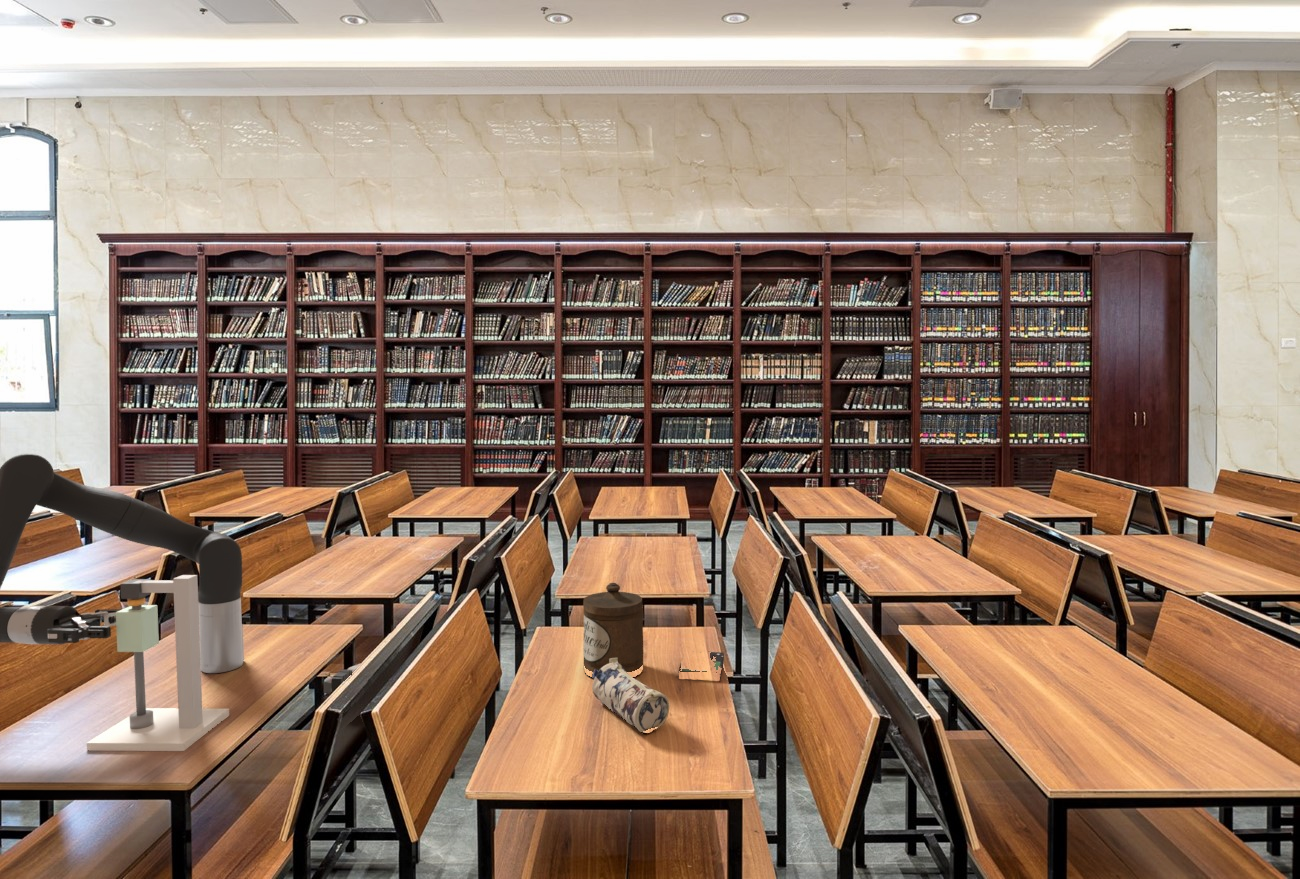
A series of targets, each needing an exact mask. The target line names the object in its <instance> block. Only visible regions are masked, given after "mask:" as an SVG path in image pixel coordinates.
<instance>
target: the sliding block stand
mask: <svg viewBox="0 0 1300 879" xmlns="http://www.w3.org/2000/svg"><path fill="white" fill-rule="evenodd" d="M198 591H199V586H198V574H182V575H178V576H177V577H173V579H172V580H167V579H166V580H165V579H164V580H162V579H160V580H159V579H158V580H157V579H155V580H154V579H150V578H146V579H145V578H133V579H130V580H126V581H124V582H122V583H120V598H121V599H120V600H123V599H124V600H127V607H129V606H132V610H140V609H142V605H146V603H147V602H146V597H147V596H149V595H152V594H163V593H164V594H173V606H174V607H173V611H174V631H175V633H174V637H175V657H176V658H175V660H176V685H177V688H176V689H177V708H172V707H171V708H170V707H169V708H167V707H164V708H163V707H157V708H156V707H155V708H154V707H147V701H146V682H145V658H144V657H145V656H144V652H145V651H144V652H133V663H134V685H135V706H136V708H135V710H136V712H134V713H131V714H129V715H128V716H127V717H126V718H124V719H122V720H121V721H119V722H118V723H116V724H115V725H113V726H111V727H110V728H108V729H106V730H105V731H103V732H102V733H100V734H99V735H97V736H95V737H94V738H91V740H89V741H88V742H86V751H88V750H89V751H90V752H91V751H94V752H95V751H104V752H105V751H108V752H111V751H115V752H116V751H118V752H123V751H125V752H127V751H128V752H130V751H131V752H137V751H138V752H184V751H186V750H187V749H188V748H190V746H192V745H193V744H195V743H196V742H197V741H198V740H199V739H200V740H201V738H202V737H203V736H205V735H206V734H208V733H209V732H210V731H211V730H213V729H214V728H215V727H216V726H218V725H219V724H221V723H222V722H223V721H224V720H226V719H227V718H228V717H230V708H203V701H202V700H203V695H202V694H203V693H202V673H201V672H202V671H201V660H200V630H199V604H198ZM221 721H222V722H221ZM217 724H218V725H217ZM212 728H213V729H212ZM208 731H209V732H208Z"/></svg>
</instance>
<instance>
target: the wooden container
mask: <svg viewBox="0 0 1300 879" xmlns="http://www.w3.org/2000/svg"><path fill="white" fill-rule="evenodd" d="M605 587H606V588H605V589H606V591H602V592H595V593H592V594H590V595H586V596H585V597H584V598H583V603H582V604H583V607H582V609H583V638H582V642H583V643H582V644H583V648H582V649H583V650H582V651H583V652H582V653H583V667H584V666H585V668H586V669H588V670H589V671H592V672H594V670H595V669H597V670H598V671H599V670H600V669H601V668H602V667H603V666H605V665H607V664H609V659H610V658H618V663H619V664H620V665H622V666H623V668H624V669H625V671H626V672H632V671H635V670H637V669H639V668H640V667H641V666H642V665H643V666H644V627H643V626H644V622H643V618H644V617H643V598H642V597H641V596H640V595H638V594H636V593H632V592H625V591H620V590H621V586H620V585H619V584H617V583H616V582H610V583H609V584H607V585H606V586H605Z"/></svg>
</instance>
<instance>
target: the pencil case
mask: <svg viewBox="0 0 1300 879" xmlns="http://www.w3.org/2000/svg"><path fill="white" fill-rule="evenodd" d="M591 679H593V682H592V686H591V688H592V689H591V690H592V693H593V695H594V697H595V698H596V699H597V700H599V701H600V702H601V703H602V705H604V704H605V705H606V706H607V707H608V708H607V707H606V706H605V705H604V706H605V707H606V708H607V709H609V710H610V709H611V710H610V711H611V712H613V711H614V712H615V713H614V712H613V713H614V714H616V713H617V714H616V716H618V715H619V716H620V717H619V716H618V717H619V718H621V717H622V718H623V719H622V718H621V719H622V720H624V719H625V720H626V723H628V724H629V725H630V726H633V727H634V726H635V728H636V729H637V730H638V732H640V733H641V732H643V731H646V730H648V729H651V728H655V727H659V728H660V726H661V727H662V726H663V725H664V723H665V722H666V720H667V719H668V716H669V714H670V701H669V698H668V697H667V695H666V694H664V693H662V692H660V691H658V690H655V689H652V688H651V687H649V686H648V685H646V684H644V683H642V682H641V681H640V680H638V679H636V678H632V677H631V676H630V675H629V674H628V673H627V672H626V671H625V669H624V668H623V666H622V665H620V664H619V663H618V658H610V659H609V664H607V665H605V666H603V667H602V668H601V669H600V670H599V671H598V670H597V669H595V670H594V672H593V674H592V678H591ZM625 720H624V721H625Z"/></svg>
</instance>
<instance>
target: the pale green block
mask: <svg viewBox="0 0 1300 879" xmlns="http://www.w3.org/2000/svg"><path fill="white" fill-rule="evenodd" d="M121 609H122V610H120V611H117V612H116V625H115V627H116V647H117V648H116V649H117V653H134V652H145V651H147V650H149V649H152V648H153V647H155V646H157V645H159V644H160V640H159V639H160V638H159V617H158V616H159V615H158V612H159V611H158V605H157V604H143V605H142V609H140V610H132V606H127V607H125V608H121Z"/></svg>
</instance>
